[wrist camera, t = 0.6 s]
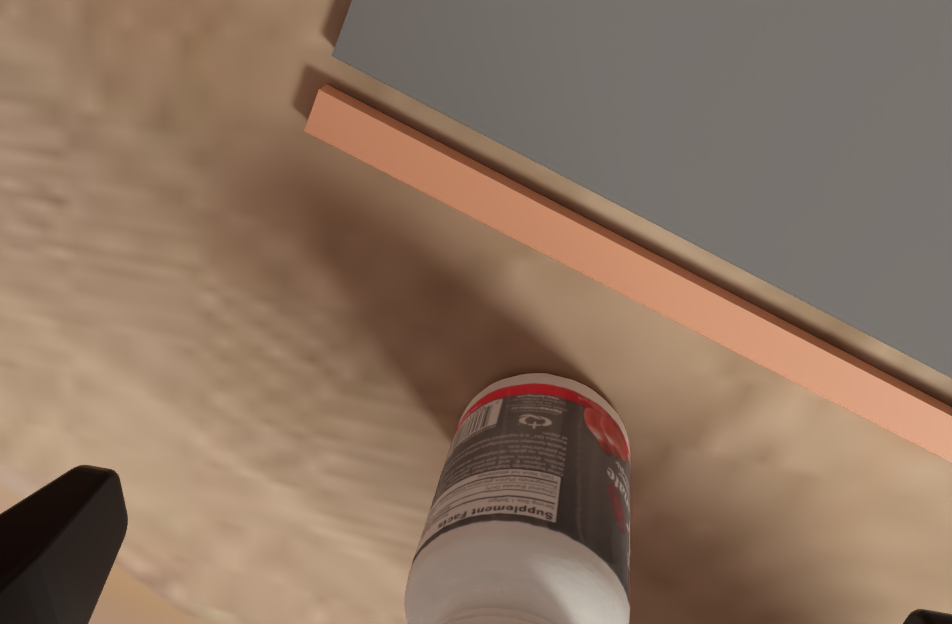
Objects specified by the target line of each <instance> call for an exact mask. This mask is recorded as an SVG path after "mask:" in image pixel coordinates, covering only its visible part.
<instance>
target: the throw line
mask: <svg viewBox="0 0 952 624" xmlns="http://www.w3.org/2000/svg"><path fill="white" fill-rule="evenodd" d="M304 131H305V132H307V133H309V134H310V135H312V136H314V137H316V138H318V139H320V140H322V141H324V142H326V143H328V144H330V145H332V146H334V147H336V148H338V149H340V150H342V151H344V152H346V153H348V154H350V155H352V156H354V157H355V158H357V159H359V160H361V161H363V162H365V163H367V164H369V165H371V166H373V167H375V168H377V169H379V170H381V171H383V172H385V173H387V174H389V175H391V176H393V177H395V178H397V179H398V180H400V181H402V182H404V183H406V184H408V185H410V186H412V187H414V188H416V189H418V190H420V191H422V192H424V193H426V194H428V195H430V196H432V197H434V198H436V199H438V200H440V201H441V202H443V203H445V204H447V205H449V206H451V207H453V208H455V209H457V210H459V211H461V212H463V213H465V214H467V215H469V216H471V217H473V218H475V219H477V220H479V221H481V222H483V223H485V224H486V225H488V226H490V227H492V228H494V229H496V230H498V231H500V232H502V233H504V234H506V235H508V236H510V237H512V238H514V239H516V240H518V241H520V242H522V243H524V244H526V245H528V246H529V247H531V248H533V249H535V250H537V251H539V252H541V253H543V254H545V255H547V256H549V257H551V258H553V259H555V260H557V261H559V262H561V263H563V264H565V265H567V266H569V267H571V268H573V269H574V270H576V271H578V272H580V273H582V274H584V275H586V276H588V277H590V278H592V279H594V280H596V281H598V282H600V283H602V284H604V285H606V286H608V287H610V288H612V289H614V290H616V291H617V292H619V293H621V294H623V295H625V296H627V297H629V298H631V299H633V300H635V301H637V302H639V303H641V304H643V305H645V306H647V307H649V308H651V309H653V310H655V311H657V312H659V313H661V314H662V315H664V316H666V317H668V318H670V319H672V320H674V321H676V322H678V323H680V324H682V325H684V326H686V327H688V328H690V329H692V330H694V331H696V332H698V333H700V334H702V335H704V336H705V337H707V338H709V339H711V340H713V341H715V342H717V343H719V344H721V345H723V346H725V347H727V348H729V349H731V350H733V351H735V352H737V353H739V354H741V355H743V356H745V357H747V358H748V359H750V360H752V361H754V362H756V363H758V364H760V365H762V366H764V367H766V368H768V369H770V370H772V371H774V372H776V373H778V374H780V375H782V376H784V377H786V378H788V379H790V380H792V381H793V382H795V383H797V384H799V385H801V386H803V387H805V388H807V389H809V390H811V391H813V392H815V393H817V394H819V395H821V396H823V397H825V398H827V399H829V400H831V401H833V402H835V403H836V404H838V405H840V406H842V407H844V408H846V409H848V410H850V411H852V412H854V413H856V414H858V415H860V416H862V417H864V418H866V419H868V420H870V421H872V422H874V423H876V424H878V425H880V426H881V427H883V428H885V429H887V430H889V431H891V432H893V433H895V434H897V435H899V436H901V437H903V438H905V439H907V440H909V441H911V442H913V443H915V444H917V445H919V446H921V447H923V448H924V449H926V450H928V451H930V452H932V453H934V454H936V455H938V456H940V457H942V458H944V459H946V460H948V461H950V462H952V407H950V406H949V405H947V404H945V403H943V402H941V401H939V400H937V399H935V398H933V397H931V396H929V395H927V394H925V393H923V392H921V391H919V390H918V389H916V388H914V387H912V386H910V385H908V384H906V383H904V382H902V381H900V380H898V379H896V378H894V377H892V376H890V375H889V374H887V373H885V372H883V371H881V370H879V369H877V368H875V367H873V366H871V365H869V364H867V363H865V362H863V361H861V360H860V359H858V358H856V357H854V356H852V355H850V354H848V353H846V352H844V351H842V350H840V349H838V348H836V347H834V346H832V345H830V344H829V343H827V342H825V341H823V340H821V339H819V338H817V337H815V336H813V335H811V334H809V333H807V332H805V331H803V330H801V329H800V328H798V327H796V326H794V325H792V324H790V323H788V322H786V321H784V320H782V319H780V318H778V317H776V316H774V315H772V314H771V313H769V312H767V311H765V310H763V309H761V308H759V307H757V306H755V305H753V304H751V303H749V302H747V301H745V300H743V299H741V298H740V297H738V296H736V295H734V294H732V293H730V292H728V291H726V290H724V289H722V288H720V287H718V286H716V285H714V284H712V283H711V282H709V281H707V280H705V279H703V278H701V277H699V276H697V275H695V274H693V273H691V272H689V271H687V270H685V269H683V268H682V267H680V266H678V265H676V264H674V263H672V262H670V261H668V260H666V259H664V258H662V257H660V256H658V255H656V254H654V253H652V252H651V251H649V250H647V249H645V248H643V247H641V246H639V245H637V244H635V243H633V242H631V241H629V240H627V239H625V238H623V237H622V236H620V235H618V234H616V233H614V232H612V231H610V230H608V229H606V228H604V227H602V226H600V225H598V224H596V223H594V222H593V221H591V220H589V219H587V218H585V217H583V216H581V215H579V214H577V213H575V212H573V211H571V210H569V209H567V208H565V207H564V206H562V205H560V204H558V203H556V202H554V201H552V200H550V199H548V198H546V197H544V196H542V195H540V194H538V193H536V192H534V191H533V190H531V189H529V188H527V187H525V186H523V185H521V184H519V183H517V182H515V181H513V180H511V179H509V178H507V177H505V176H504V175H502V174H500V173H498V172H496V171H494V170H492V169H490V168H488V167H486V166H484V165H482V164H480V163H478V162H476V161H475V160H473V159H471V158H469V157H467V156H465V155H463V154H461V153H459V152H457V151H455V150H453V149H451V148H449V147H447V146H445V145H444V144H442V143H440V142H438V141H436V140H434V139H432V138H430V137H428V136H426V135H424V134H422V133H420V132H418V131H416V130H415V129H413V128H411V127H409V126H407V125H405V124H403V123H401V122H399V121H397V120H395V119H393V118H391V117H389V116H387V115H386V114H384V113H382V112H380V111H378V110H376V109H374V108H372V107H370V106H368V105H366V104H364V103H362V102H360V101H358V100H356V99H355V98H353V97H351V96H349V95H347V94H345V93H343V92H341V91H339V90H337V89H335V88H333V87H331V86H329V85H327V84H326V85H325V86H323V87H322V88H320V89H319V90H318V93H317V96H316V99H315V101H314V104H313V107H312V110H311V113H310V115H309V118H308V121H307V124H306V127H305V129H304Z"/></svg>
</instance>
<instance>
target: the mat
mask: <svg viewBox="0 0 952 624" xmlns="http://www.w3.org/2000/svg"><path fill="white" fill-rule="evenodd" d="M332 56H333V57H335V58H337V59H339V60H341V61H343V62H345V63H346V64H348V65H350V66H352V67H354V68H356V69H358V70H360V71H362V72H364V73H366V74H368V75H370V76H371V77H373V78H375V79H377V80H379V81H381V82H383V83H385V84H387V85H389V86H391V87H393V88H395V89H396V90H398V91H400V92H402V93H404V94H406V95H408V96H410V97H412V98H414V99H416V100H418V101H420V102H421V103H423V104H425V105H427V106H429V107H431V108H433V109H435V110H437V111H439V112H441V113H443V114H445V115H446V116H448V117H450V118H452V119H454V120H456V121H458V122H460V123H462V124H464V125H466V126H468V127H470V128H472V129H473V130H475V131H477V132H479V133H481V134H483V135H485V136H487V137H489V138H491V139H493V140H495V141H497V142H498V143H500V144H502V145H504V146H506V147H508V148H510V149H512V150H514V151H516V152H518V153H520V154H522V155H523V156H525V157H527V158H529V159H531V160H533V161H535V162H537V163H539V164H541V165H543V166H545V167H547V168H548V169H550V170H552V171H554V172H556V173H558V174H560V175H562V176H564V177H566V178H568V179H570V180H572V181H573V182H575V183H577V184H579V185H581V186H583V187H585V188H587V189H589V190H591V191H593V192H595V193H597V194H598V195H600V196H602V197H604V198H606V199H608V200H610V201H612V202H614V203H616V204H618V205H620V206H622V207H623V208H625V209H627V210H629V211H631V212H633V213H635V214H637V215H639V216H641V217H643V218H645V219H647V220H649V221H650V222H652V223H654V224H656V225H658V226H660V227H662V228H664V229H666V230H668V231H670V232H672V233H674V234H675V235H677V236H679V237H681V238H683V239H685V240H687V241H689V242H691V243H693V244H695V245H697V246H699V247H700V248H702V249H704V250H706V251H708V252H710V253H712V254H714V255H716V256H718V257H720V258H722V259H724V260H725V261H727V262H729V263H731V264H733V265H735V266H737V267H739V268H741V269H743V270H745V271H747V272H749V273H750V274H752V275H754V276H756V277H758V278H760V279H762V280H764V281H766V282H768V283H770V284H772V285H774V286H775V287H777V288H779V289H781V290H783V291H785V292H787V293H789V294H791V295H793V296H795V297H797V298H799V299H800V300H802V301H804V302H806V303H808V304H810V305H812V306H814V307H816V308H818V309H820V310H822V311H824V312H826V313H827V314H829V315H831V316H833V317H835V318H837V319H839V320H841V321H843V322H845V323H847V324H849V325H851V326H852V327H854V328H856V329H858V330H860V331H862V332H864V333H866V334H868V335H870V336H872V337H874V338H876V339H877V340H879V341H881V342H883V343H885V344H887V345H889V346H891V347H893V348H895V349H897V350H899V351H901V352H902V353H904V354H906V355H908V356H910V357H912V358H914V359H916V360H918V361H920V362H922V363H924V364H926V365H927V366H929V367H931V368H933V369H935V370H937V371H939V372H941V373H943V374H945V375H947V376H949V377H951V378H952V0H352V1H351V4H350V7H349V9H348V12H347V15H346V18H345V21H344V23H343V26H342V29H341V32H340V35H339V37H338V40H337V43H336V46H335V48H334V51H333V54H332Z"/></svg>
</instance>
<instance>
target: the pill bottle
mask: <svg viewBox="0 0 952 624" xmlns="http://www.w3.org/2000/svg"><path fill="white" fill-rule="evenodd" d="M630 473H631V464H630V447H629V440H628V436H627V432H626V429H625V427H624V425H623V423H622V421H621V419H620V417H619V415H618V414H617V413H616V411H615V410H614V409H613V408H612V407H611V406H610V405H609V404H608V402H607V401H606V400H604V399H603V398H602V397H601V396H600V395H599V394H597V393H596V392H595V391H593V390H592V389H590V388H589V387H587V386H586V385H583V384H581V383H579V382H577V381H575V380H572V379H568V378H564V377H560V376H555V375H551V374H547V373H530V374H522V375H517V376H513V377H509V378H505V379H502V380H499V381H497V382H495V383H493V384H491V385H489V386H488V387H486V388H485V389H484V390H482V391H481V392H480V393H479V394H477V395H476V396H475V397H474V398H473V399H472V400H471V402H470V403H469V405H468V406H467V407H466V409H465V411H464V413H463V415H462V417H461V419H460V421H459V424H458V427H457V429H456V432H455V435H454V438H453V441H452V444H451V447H450V450H449V454H448V456H447V459H446V462H445V465H444V469H443V471H442V474H441V476H440V480H439V483H438V487H437V490H436V493H435V496H434V499H433V503H432V506H431V509H430V512H429V514H428V517H427V520H426V523H425V527H424V530H423V533H422V536H421V539H420V542H419V545H418V548H417V551H416V554H415V557H414V559H413V563H412V566H411V569H410V572H409V576H408V581H407V586H406V591H405V613H406V619H407V622H408V624H629V618H630Z"/></svg>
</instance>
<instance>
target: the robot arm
mask: <svg viewBox="0 0 952 624" xmlns="http://www.w3.org/2000/svg"><path fill="white" fill-rule="evenodd" d="M127 525H128V516H127V510H126V506H125V501H124V496H123V492H122V487H121V482H120V478H119V475H118V474H117V473H116V472H115V471H114V470H112V469H107V468H102V467H96V466H90V465H80V466H77V467H75V468H73V469H71V470H69V471H68V472H66V473H65V474H63V475H61V476H60V477H58V478H57V479H55V480H53V481H52V482H50V483H49V484H47V485H46V486H44V487H42V488H41V489H39V490H38V491H36V492H34V493H33V494H31V495H30V496H28V497H27V498H25V499H23V500H22V501H20V502H19V503H17V504H15V505H14V506H12V507H11V508H9V509H8V510H6V511H4V512H3V513H1V514H0V624H88V623H89V621H90V618H91V616H92V613H93V611H94V609H95V606H96V604H97V602H98V599H99V597H100V595H101V592H102V590H103V587H104V585H105V583H106V580H107V578H108V575H109V573H110V571H111V568H112V566H113V564H114V561H115V559H116V556H117V554H118V552H119V549H120V547H121V545H122V542H123V540H124V537H125V534H126V530H127ZM903 624H952V615H951V614H948V613H942V612H936V611H930V610H925V609H917V610H915V611H913V612H911V613H910V614H909V616H908V617H907V618H906V620H905V621H904V623H903Z"/></svg>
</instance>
